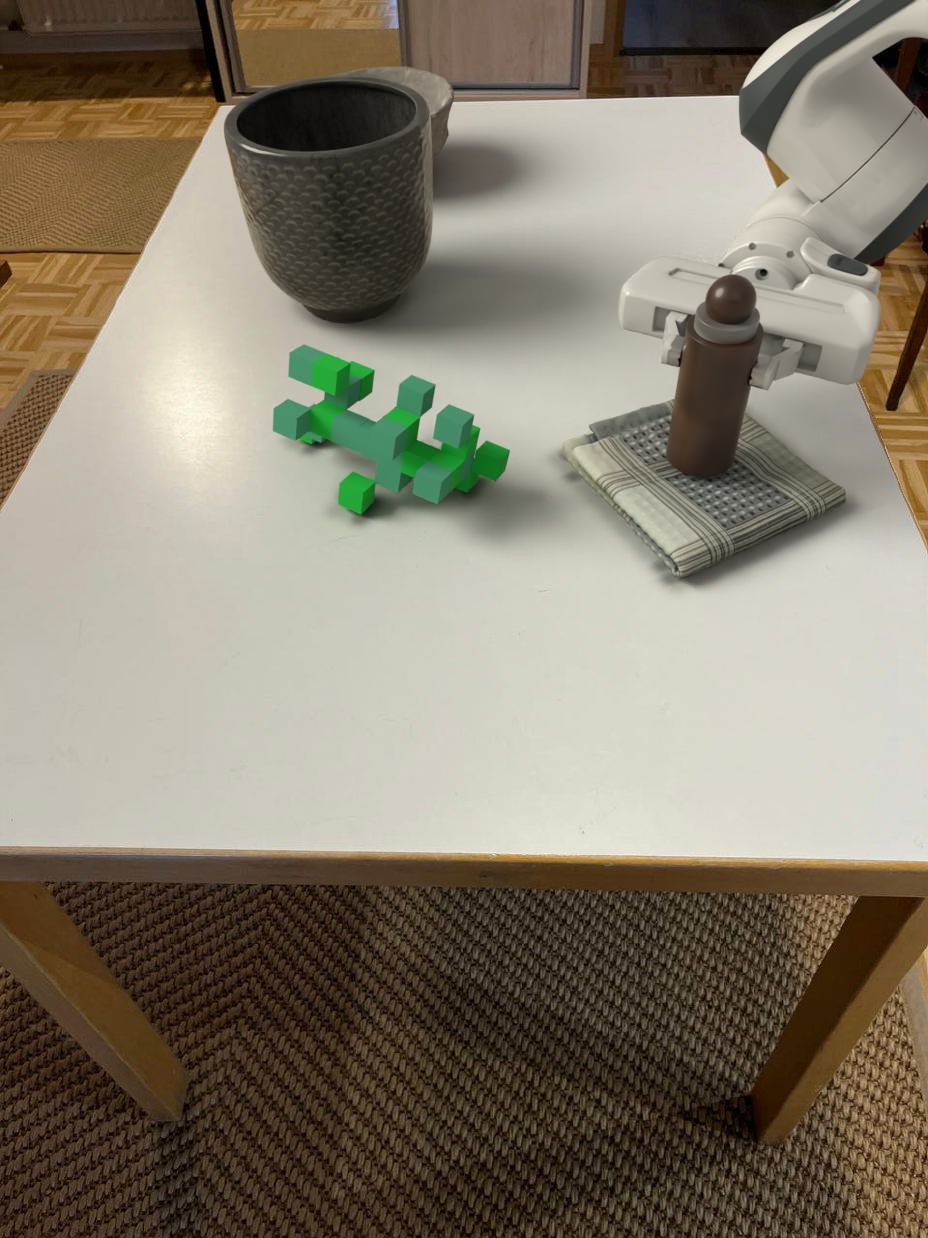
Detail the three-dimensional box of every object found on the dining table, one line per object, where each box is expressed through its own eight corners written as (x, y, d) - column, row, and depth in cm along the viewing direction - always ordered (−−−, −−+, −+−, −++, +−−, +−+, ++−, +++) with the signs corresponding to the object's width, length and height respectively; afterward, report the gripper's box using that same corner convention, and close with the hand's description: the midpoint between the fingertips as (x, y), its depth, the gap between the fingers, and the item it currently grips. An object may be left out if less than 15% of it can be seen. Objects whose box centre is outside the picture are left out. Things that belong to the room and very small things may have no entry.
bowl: (374, 132, 131) (367, 53, 124) (489, 167, 123) (488, 84, 115) (268, 185, 121) (252, 103, 114) (384, 227, 112) (376, 141, 105)
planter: (316, 242, 110) (287, 65, 96) (468, 269, 105) (462, 86, 91) (228, 327, 99) (180, 140, 84) (394, 362, 93) (373, 168, 79)
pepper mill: (735, 439, 79) (776, 261, 67) (731, 481, 75) (775, 301, 63) (669, 431, 80) (698, 254, 68) (662, 472, 76) (691, 294, 64)
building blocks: (507, 468, 86) (532, 360, 75) (480, 572, 79) (503, 469, 68) (300, 417, 87) (295, 302, 76) (255, 517, 80) (243, 406, 69)
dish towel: (851, 509, 77) (862, 479, 74) (676, 588, 71) (682, 559, 69) (710, 395, 88) (716, 366, 85) (549, 456, 82) (550, 427, 80)
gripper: (655, 223, 79) (591, 300, 71) (903, 274, 72) (862, 365, 64) (647, 291, 84) (585, 370, 76) (878, 345, 77) (837, 438, 69)
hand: (714, 368), depth 70 cm, fingers closed on pepper mill, 5 cm apart
